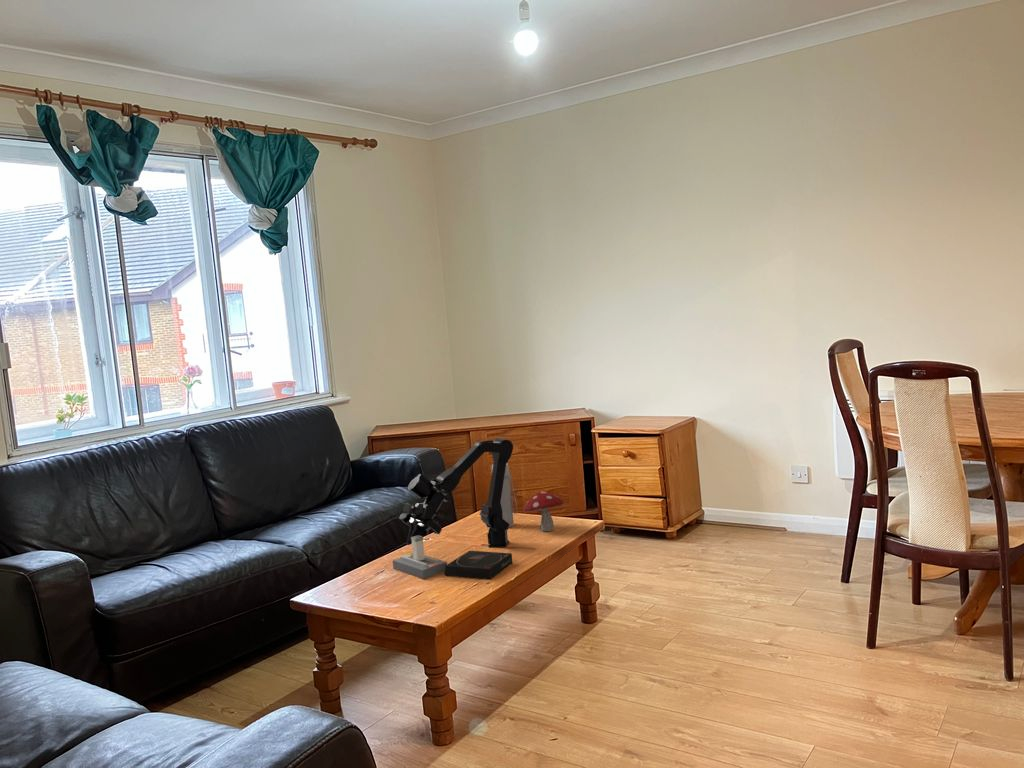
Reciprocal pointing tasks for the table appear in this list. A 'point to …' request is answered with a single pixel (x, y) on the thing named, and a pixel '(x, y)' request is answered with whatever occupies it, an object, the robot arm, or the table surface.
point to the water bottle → (507, 498)
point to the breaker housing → (419, 566)
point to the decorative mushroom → (544, 508)
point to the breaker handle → (418, 548)
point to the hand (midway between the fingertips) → (407, 544)
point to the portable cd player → (478, 565)
